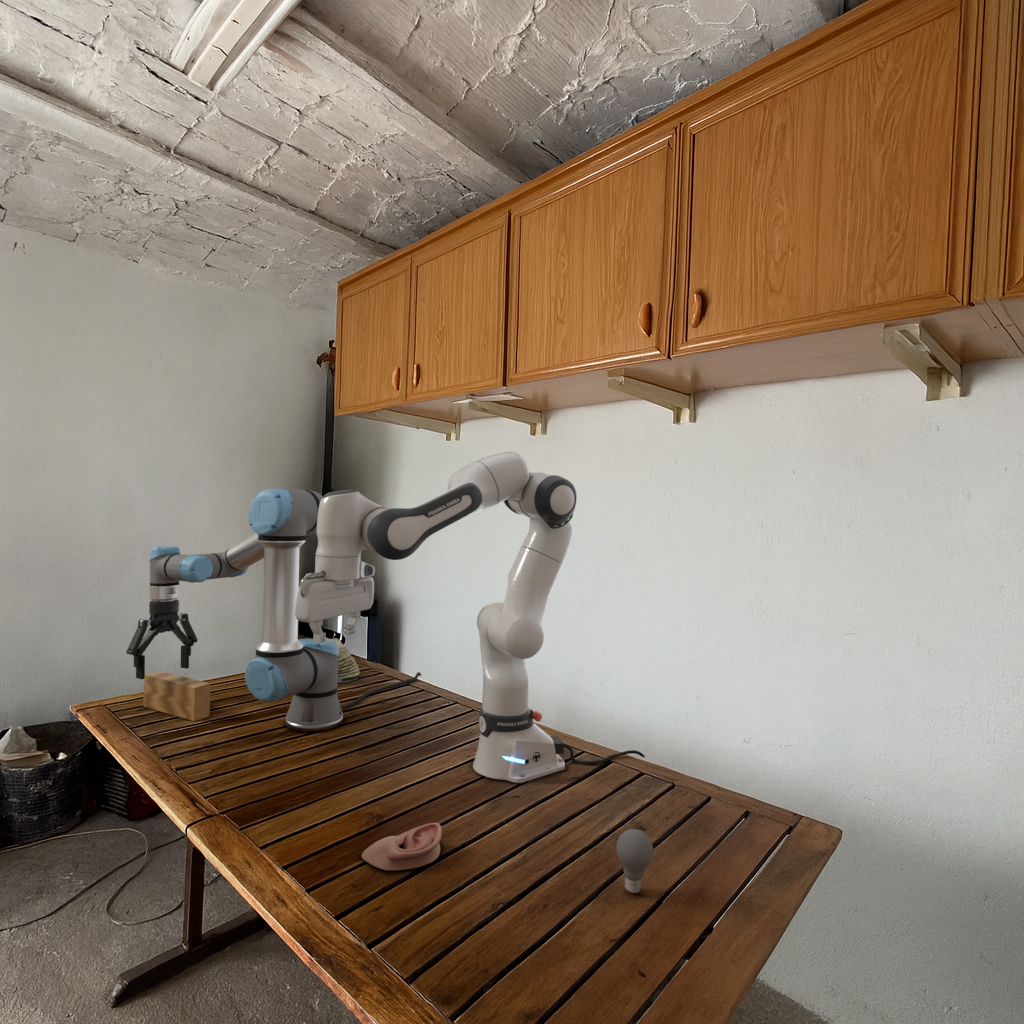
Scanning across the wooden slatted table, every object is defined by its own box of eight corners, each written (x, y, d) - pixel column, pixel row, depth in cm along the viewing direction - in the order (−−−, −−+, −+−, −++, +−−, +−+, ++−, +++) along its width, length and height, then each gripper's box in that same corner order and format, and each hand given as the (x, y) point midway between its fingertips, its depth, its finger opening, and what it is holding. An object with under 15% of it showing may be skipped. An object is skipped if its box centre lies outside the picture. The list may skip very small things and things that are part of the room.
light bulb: (610, 879, 108) (613, 822, 108) (644, 879, 109) (647, 822, 109) (619, 902, 102) (622, 840, 102) (655, 901, 103) (658, 840, 103)
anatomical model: (354, 842, 109) (381, 811, 120) (353, 865, 109) (380, 831, 121) (427, 854, 107) (448, 821, 118) (426, 877, 107) (447, 842, 118)
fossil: (300, 681, 213) (301, 637, 213) (350, 673, 226) (352, 631, 226) (311, 688, 207) (313, 642, 207) (362, 679, 219) (364, 636, 219)
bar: (143, 706, 183) (144, 674, 183) (159, 701, 188) (160, 670, 188) (193, 721, 173) (195, 687, 173) (209, 716, 178) (210, 683, 178)
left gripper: (129, 606, 170) (128, 685, 170) (210, 595, 193) (209, 665, 193) (112, 604, 174) (111, 681, 174) (194, 593, 196) (193, 662, 196)
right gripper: (314, 575, 117) (311, 649, 118) (380, 566, 136) (377, 630, 136) (288, 572, 120) (285, 645, 120) (356, 564, 139) (353, 627, 139)
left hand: (163, 673), depth 183 cm, fingers open, 13 cm apart
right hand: (335, 637), depth 128 cm, fingers open, 8 cm apart
